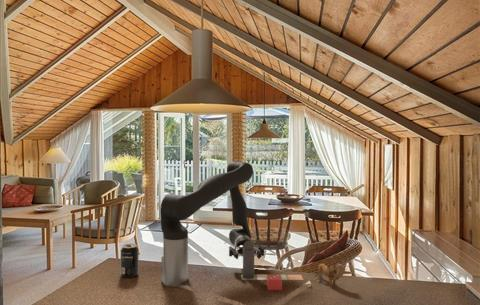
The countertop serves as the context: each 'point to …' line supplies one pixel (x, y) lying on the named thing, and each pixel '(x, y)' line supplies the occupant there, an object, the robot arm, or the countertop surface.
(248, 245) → the grey cylinder
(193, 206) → the robot arm
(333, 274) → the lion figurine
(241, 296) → the countertop surface
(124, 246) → the beverage can
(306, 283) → the game board
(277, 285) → the red die
